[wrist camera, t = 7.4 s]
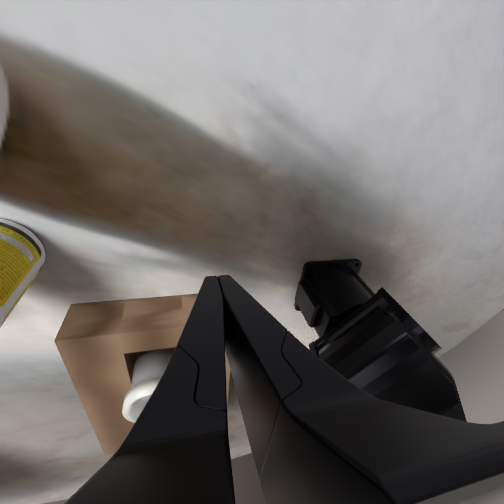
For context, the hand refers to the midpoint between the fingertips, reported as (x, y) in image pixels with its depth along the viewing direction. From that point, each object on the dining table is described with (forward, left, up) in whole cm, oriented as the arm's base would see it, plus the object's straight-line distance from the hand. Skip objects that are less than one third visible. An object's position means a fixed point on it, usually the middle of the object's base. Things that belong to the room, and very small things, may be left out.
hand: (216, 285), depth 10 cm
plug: (+4, +17, -9) cm, 20 cm away
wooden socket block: (+4, +22, -13) cm, 26 cm away
